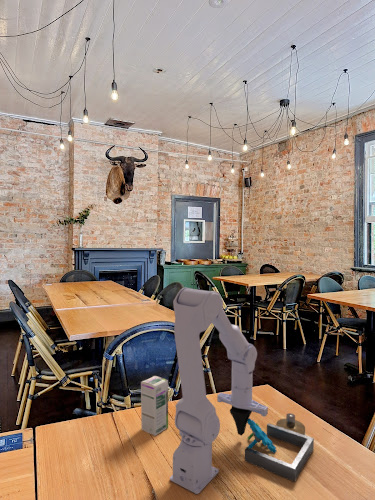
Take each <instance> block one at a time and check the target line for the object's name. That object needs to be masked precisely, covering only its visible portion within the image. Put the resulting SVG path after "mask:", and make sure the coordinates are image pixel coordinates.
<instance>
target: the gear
mask: <svg viewBox="0 0 375 500" xmlns="http://www.w3.org/2000/svg"><path fill="white" fill-rule="evenodd" d="M247 424H248V425H249V428H250V430H251V433H250V434H249V435H248V436H247V438H246V439H247V440H248V441H250V440H251V439H252V438H253V437H254V439H253V440H252V441H251V442H250V443H249V444H248V445H247V447H248V448H251V449H254V447H255V446H256V445H257V444H258V443H259V444H260V443H262V444H263V445H264V446H265V447H266V446H267V449H268V450H269V451H270V452H272V453H273V454H275V453H277V447H276V446H275V445H274V443H273V441H272V440H271V439H270V438H269V436H267V432H265V431H264V430H263V429H262V427H260V424H258V423H257V422H255V420H254V419H251V418H250V417H249V419H248V420H247Z"/></svg>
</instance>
